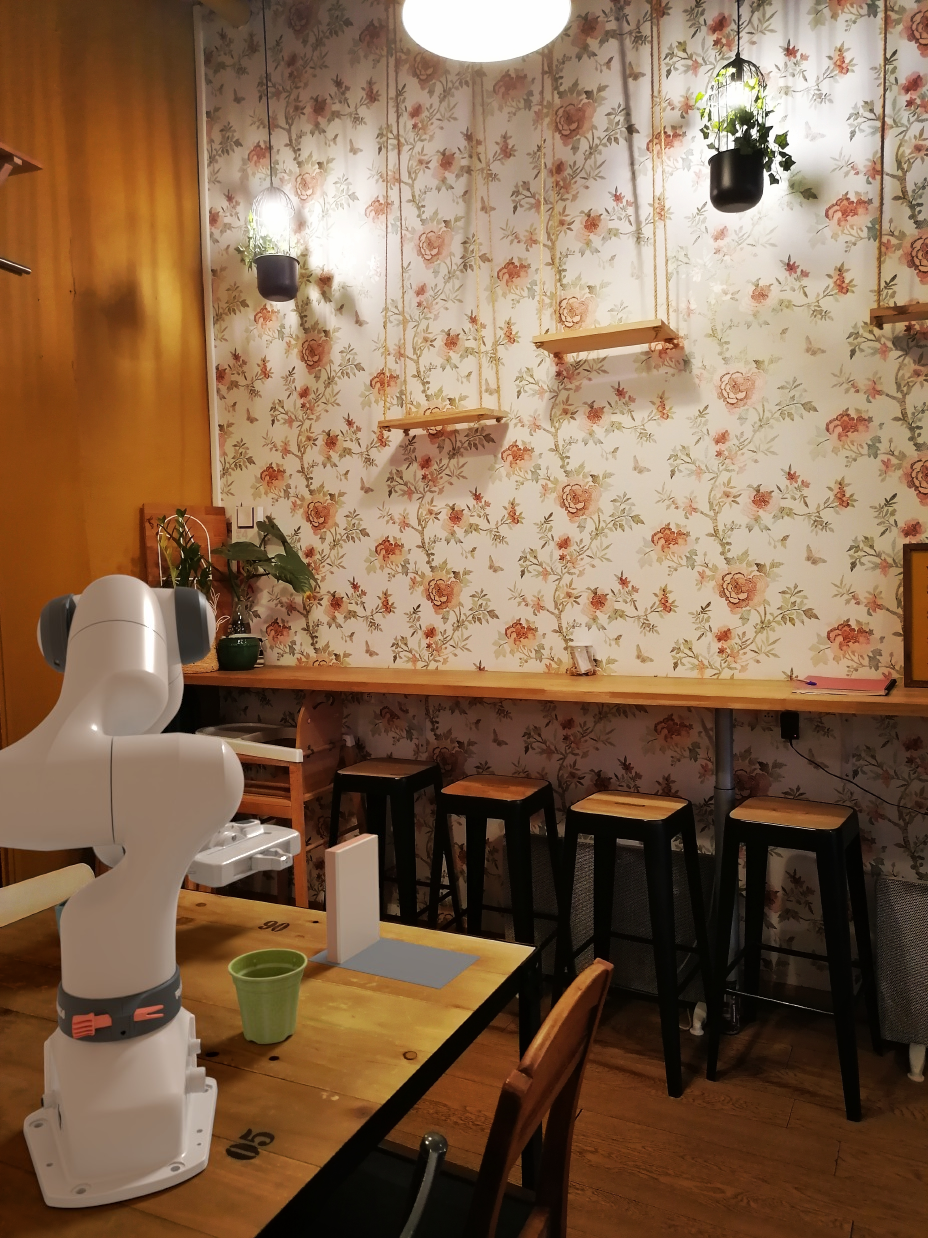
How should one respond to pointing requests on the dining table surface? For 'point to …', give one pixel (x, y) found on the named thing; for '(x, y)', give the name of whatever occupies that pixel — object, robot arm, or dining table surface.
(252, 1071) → the dining table surface
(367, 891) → the tile
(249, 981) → the plant pot
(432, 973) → the mat
